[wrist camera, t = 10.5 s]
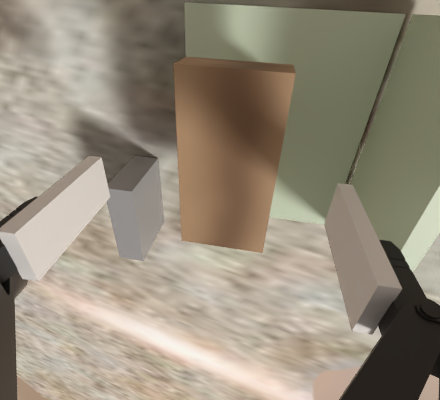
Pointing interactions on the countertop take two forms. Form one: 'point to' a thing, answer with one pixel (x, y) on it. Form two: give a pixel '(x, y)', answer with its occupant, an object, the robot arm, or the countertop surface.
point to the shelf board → (229, 147)
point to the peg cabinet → (345, 109)
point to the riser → (136, 206)
